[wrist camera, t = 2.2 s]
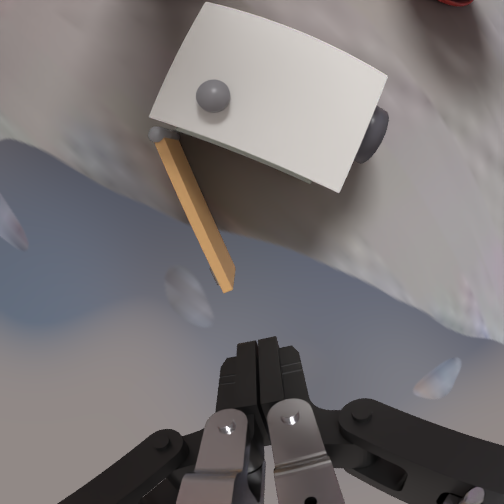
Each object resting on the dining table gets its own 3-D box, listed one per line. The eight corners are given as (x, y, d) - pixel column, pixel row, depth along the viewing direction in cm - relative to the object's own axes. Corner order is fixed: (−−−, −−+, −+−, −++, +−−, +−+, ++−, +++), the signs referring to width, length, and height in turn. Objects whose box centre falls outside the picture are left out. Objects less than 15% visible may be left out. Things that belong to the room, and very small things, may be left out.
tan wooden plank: (176, 128, 25) (160, 123, 20) (237, 266, 29) (235, 290, 24) (160, 136, 25) (141, 133, 20) (222, 272, 29) (216, 296, 24)
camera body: (217, 40, 22) (204, -4, 14) (368, 104, 24) (414, 87, 15) (176, 130, 25) (142, 119, 16) (330, 193, 26) (364, 210, 18)
